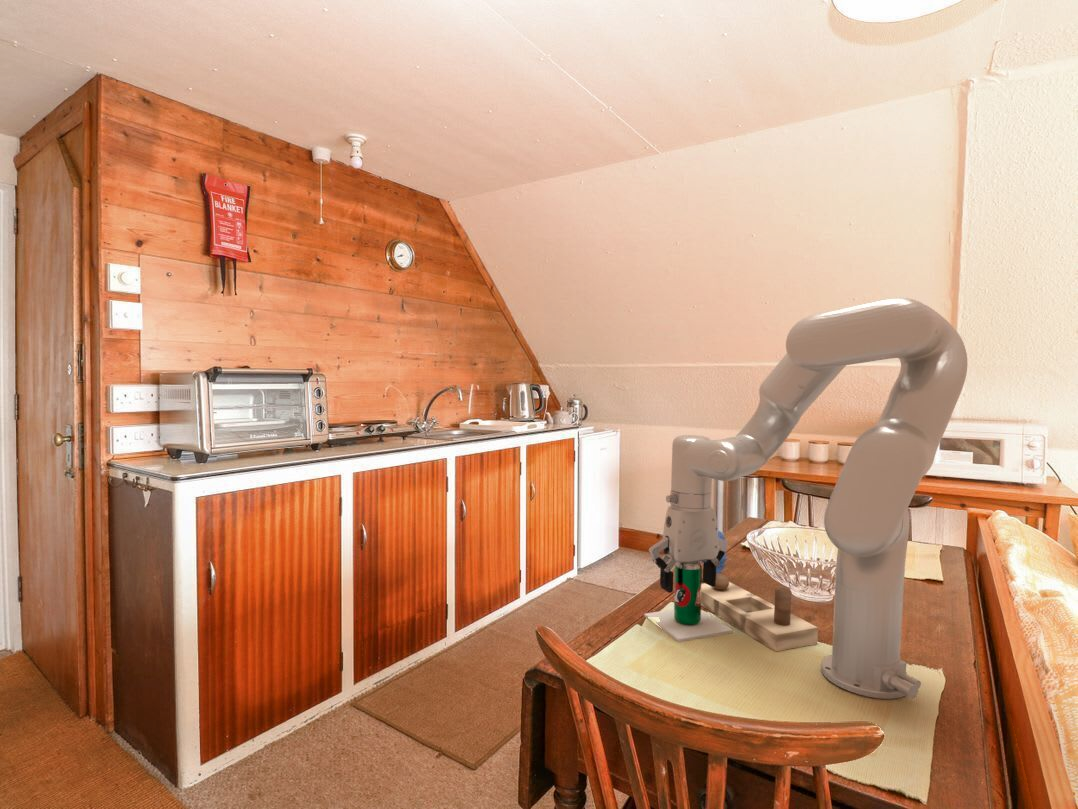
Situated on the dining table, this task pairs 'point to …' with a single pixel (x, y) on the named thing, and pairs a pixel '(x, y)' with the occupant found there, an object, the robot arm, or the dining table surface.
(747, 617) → the wooden holder block
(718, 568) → the grapes
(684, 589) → the soda can
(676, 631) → the mat
